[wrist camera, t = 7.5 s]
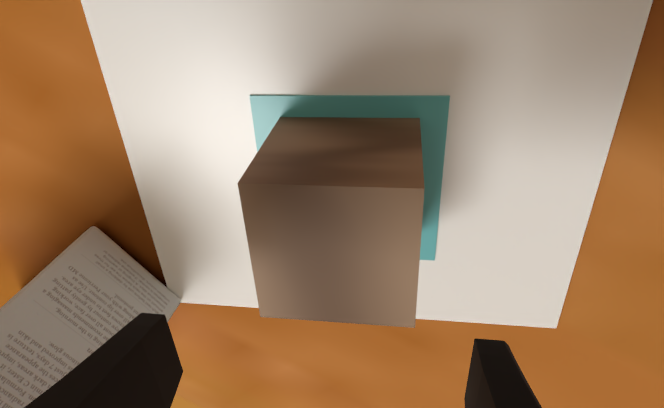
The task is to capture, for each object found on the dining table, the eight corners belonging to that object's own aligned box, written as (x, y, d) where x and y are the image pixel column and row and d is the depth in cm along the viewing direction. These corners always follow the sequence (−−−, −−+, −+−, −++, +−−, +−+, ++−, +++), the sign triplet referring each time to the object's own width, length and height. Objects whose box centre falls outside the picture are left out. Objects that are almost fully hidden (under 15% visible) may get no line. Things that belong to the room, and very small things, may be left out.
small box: (101, 354, 26) (-64, 576, 17) (17, 290, 24) (-214, 500, 16) (187, 299, 22) (33, 544, 14) (95, 219, 21) (-148, 441, 12)
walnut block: (419, 117, 16) (424, 188, 12) (413, 235, 19) (414, 327, 14) (280, 117, 17) (237, 183, 13) (292, 230, 19) (260, 316, 15)
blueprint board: (655, -26, 13) (662, -25, 13) (554, 323, 21) (556, 329, 20) (84, -8, 16) (76, -7, 15) (174, 297, 23) (170, 303, 23)
